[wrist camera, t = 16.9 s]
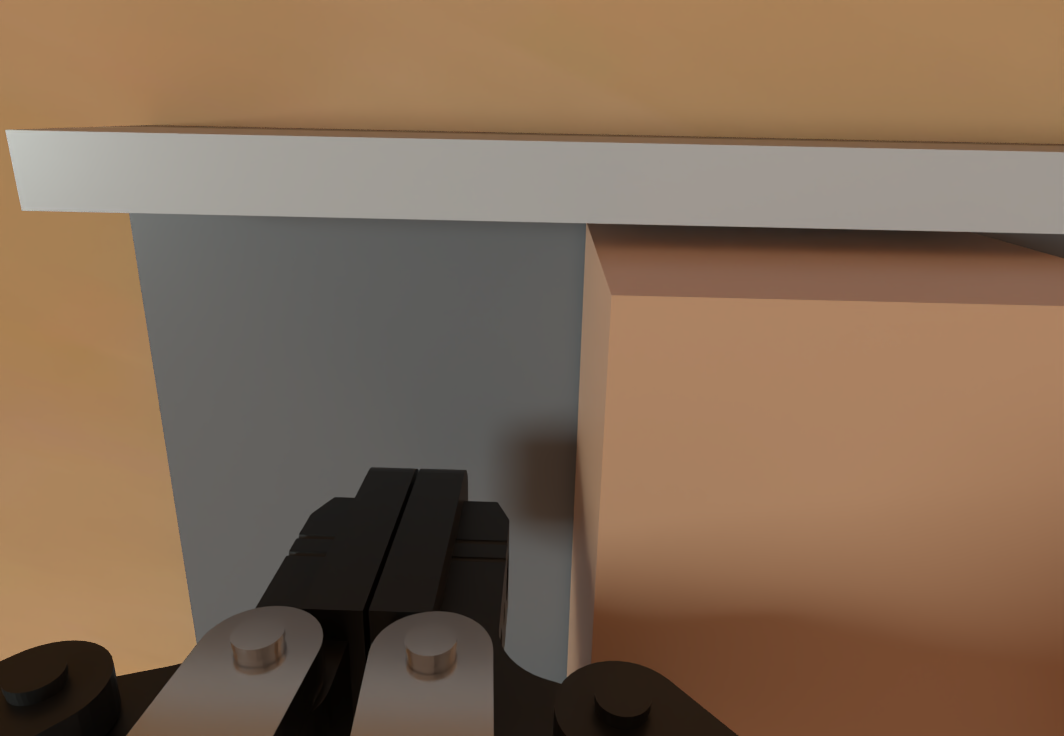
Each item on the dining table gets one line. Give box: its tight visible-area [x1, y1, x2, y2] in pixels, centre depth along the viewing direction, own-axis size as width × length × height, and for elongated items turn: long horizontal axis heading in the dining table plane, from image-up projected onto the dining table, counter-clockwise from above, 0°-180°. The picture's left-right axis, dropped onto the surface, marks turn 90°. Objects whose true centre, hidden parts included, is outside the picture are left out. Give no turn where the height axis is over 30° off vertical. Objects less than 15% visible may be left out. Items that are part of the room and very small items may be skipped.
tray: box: [5, 125, 1064, 684], centre depth 13 cm, size 20×12×4 cm, turn 89°
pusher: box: [567, 223, 1064, 736], centre depth 11 cm, size 6×9×5 cm, turn 179°
